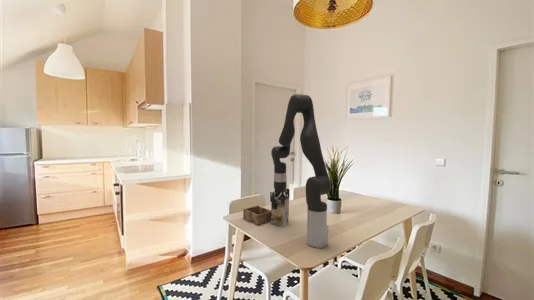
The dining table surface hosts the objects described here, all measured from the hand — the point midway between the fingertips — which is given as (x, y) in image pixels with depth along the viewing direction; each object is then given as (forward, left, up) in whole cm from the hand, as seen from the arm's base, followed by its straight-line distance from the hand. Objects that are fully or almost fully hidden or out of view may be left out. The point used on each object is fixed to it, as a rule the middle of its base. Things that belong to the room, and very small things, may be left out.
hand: (279, 207), depth 143 cm
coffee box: (0, 0, -10) cm, 10 cm away
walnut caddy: (+13, +6, -10) cm, 17 cm away
